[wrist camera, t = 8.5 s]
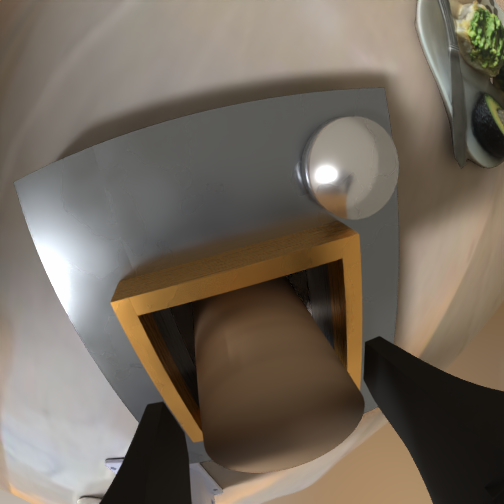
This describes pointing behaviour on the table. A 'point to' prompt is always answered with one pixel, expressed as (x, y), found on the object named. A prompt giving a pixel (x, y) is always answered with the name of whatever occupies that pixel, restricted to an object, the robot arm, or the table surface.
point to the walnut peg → (269, 380)
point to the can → (89, 500)
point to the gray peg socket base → (222, 233)
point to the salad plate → (467, 72)
